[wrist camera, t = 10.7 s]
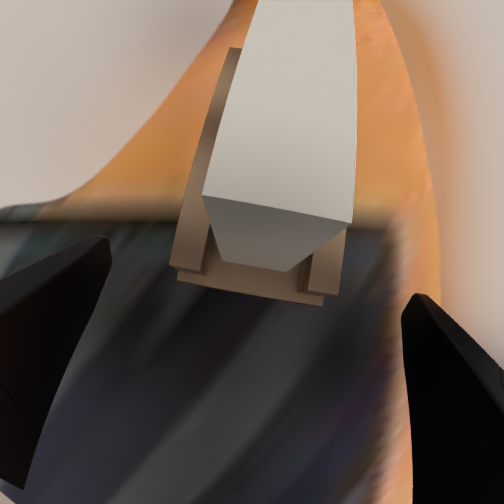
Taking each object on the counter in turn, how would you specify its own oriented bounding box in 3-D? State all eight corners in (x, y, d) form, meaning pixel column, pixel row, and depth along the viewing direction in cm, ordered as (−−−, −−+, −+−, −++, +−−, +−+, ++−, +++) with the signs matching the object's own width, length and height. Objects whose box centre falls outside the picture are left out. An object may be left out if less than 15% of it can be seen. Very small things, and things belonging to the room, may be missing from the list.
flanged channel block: (317, 306, 18) (336, 305, 14) (180, 282, 18) (166, 275, 14) (338, 98, 20) (352, 66, 17) (231, 77, 20) (231, 42, 17)
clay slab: (286, 272, 17) (351, 223, 7) (222, 260, 17) (201, 194, 7) (310, 96, 19) (349, -22, 9) (258, 86, 19) (273, -38, 9)
